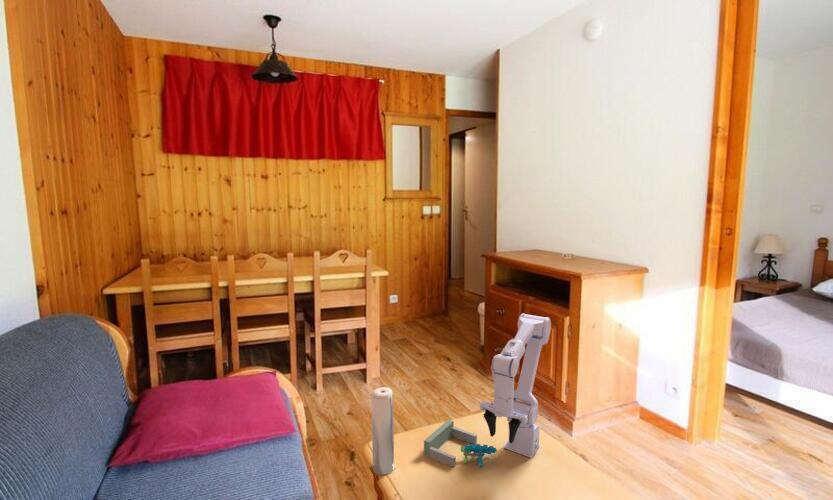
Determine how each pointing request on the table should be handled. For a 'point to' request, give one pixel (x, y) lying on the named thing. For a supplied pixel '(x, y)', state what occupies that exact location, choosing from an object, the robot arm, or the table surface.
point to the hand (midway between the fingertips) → (502, 438)
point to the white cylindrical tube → (382, 431)
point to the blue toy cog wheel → (477, 451)
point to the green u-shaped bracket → (441, 437)
